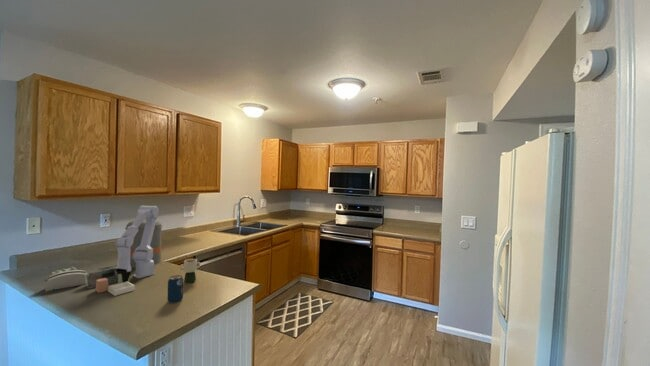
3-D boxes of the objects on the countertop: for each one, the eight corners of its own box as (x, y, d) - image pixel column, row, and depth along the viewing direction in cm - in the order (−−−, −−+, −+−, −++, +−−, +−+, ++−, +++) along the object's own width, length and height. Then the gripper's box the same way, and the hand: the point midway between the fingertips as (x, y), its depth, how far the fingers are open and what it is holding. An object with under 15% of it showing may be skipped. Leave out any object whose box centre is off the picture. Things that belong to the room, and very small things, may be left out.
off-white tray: (127, 286, 152) (127, 281, 152) (134, 290, 147) (134, 285, 147) (108, 291, 144) (108, 286, 144) (114, 295, 139) (114, 290, 139)
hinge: (86, 280, 158) (87, 266, 155) (87, 285, 155) (87, 271, 152) (45, 288, 146) (45, 272, 144) (45, 293, 143) (45, 278, 140)
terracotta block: (104, 288, 148) (105, 277, 148) (107, 290, 146) (108, 279, 146) (95, 291, 145) (96, 280, 145) (98, 292, 142) (98, 281, 142)
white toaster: (46, 270, 158) (77, 263, 172) (45, 279, 159) (76, 271, 173) (59, 280, 153) (90, 272, 167) (58, 289, 154) (88, 281, 168)
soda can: (185, 300, 136) (185, 277, 136) (170, 305, 131) (170, 280, 131) (179, 296, 141) (180, 273, 141) (165, 300, 135) (165, 277, 135)
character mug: (199, 278, 167) (199, 257, 167) (200, 282, 161) (201, 260, 161) (179, 281, 161) (179, 260, 161) (180, 285, 155) (180, 263, 155)
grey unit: (122, 276, 166) (123, 263, 166) (127, 278, 163) (127, 264, 163) (85, 285, 151) (85, 270, 151) (88, 288, 148) (89, 273, 148)
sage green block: (126, 282, 156) (126, 272, 156) (129, 284, 154) (129, 273, 154) (118, 284, 153) (118, 274, 153) (120, 286, 151) (121, 275, 151)
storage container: (123, 269, 178) (125, 217, 178) (124, 261, 196) (125, 213, 196) (162, 264, 192) (164, 215, 191) (160, 256, 210) (161, 212, 209)
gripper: (110, 257, 154) (110, 280, 154) (121, 261, 146) (120, 286, 146) (125, 254, 160) (124, 277, 160) (135, 259, 152) (135, 282, 152)
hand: (123, 281), depth 154 cm, fingers closed on sage green block, 4 cm apart
